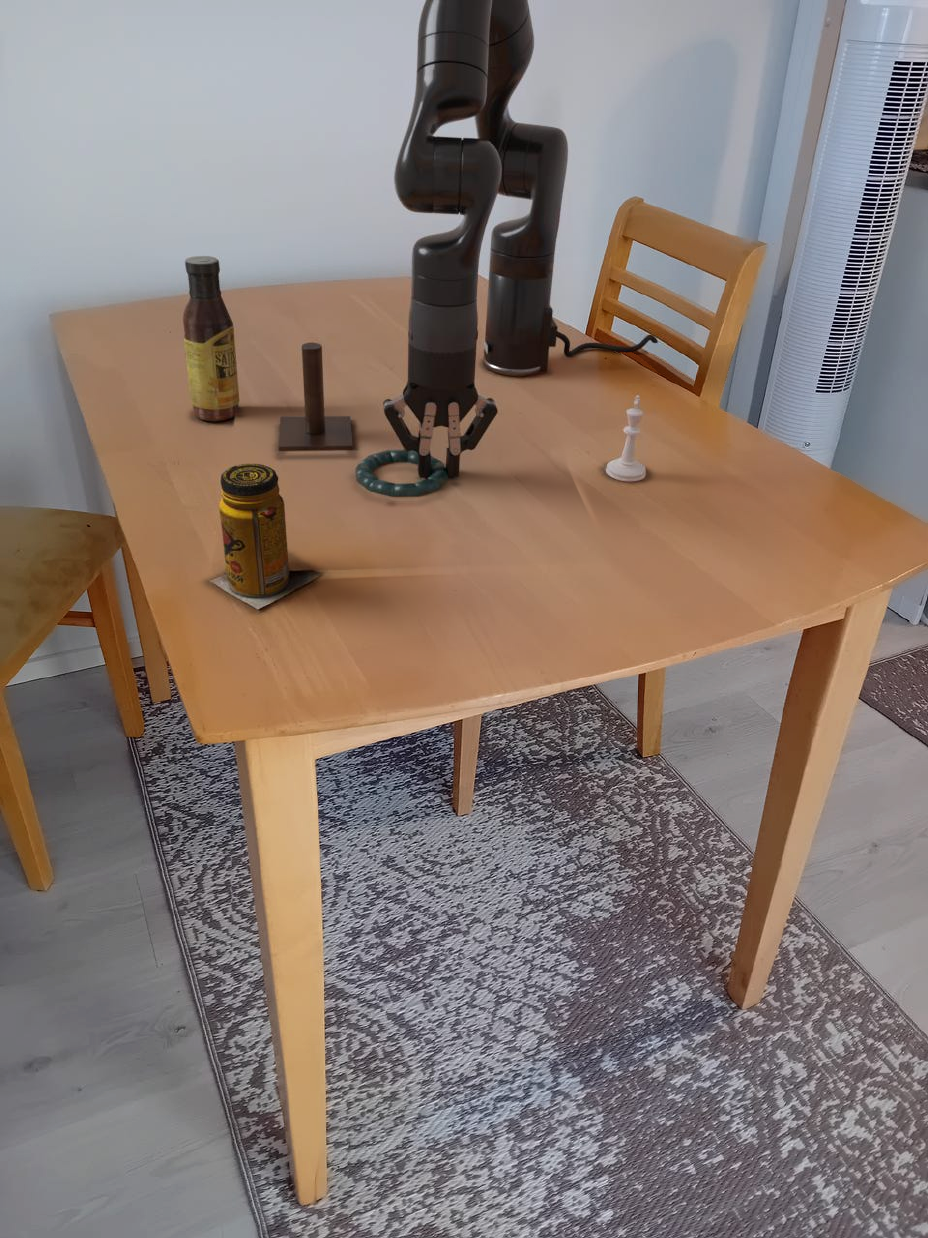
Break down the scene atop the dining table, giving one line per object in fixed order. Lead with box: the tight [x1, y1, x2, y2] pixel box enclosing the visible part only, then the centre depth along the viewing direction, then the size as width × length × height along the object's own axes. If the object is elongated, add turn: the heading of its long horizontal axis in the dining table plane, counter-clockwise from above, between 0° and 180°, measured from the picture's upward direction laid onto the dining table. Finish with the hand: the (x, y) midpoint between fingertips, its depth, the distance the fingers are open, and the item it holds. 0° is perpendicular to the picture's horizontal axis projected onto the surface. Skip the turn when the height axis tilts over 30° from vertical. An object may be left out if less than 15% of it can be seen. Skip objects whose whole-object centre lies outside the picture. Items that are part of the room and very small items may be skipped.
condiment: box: [209, 463, 323, 610], centre depth 94 cm, size 7×8×12 cm
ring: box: [355, 449, 449, 498], centre depth 116 cm, size 11×11×2 cm
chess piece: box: [605, 394, 647, 482], centre depth 118 cm, size 5×5×10 cm
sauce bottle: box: [182, 255, 240, 422], centre depth 124 cm, size 7×6×20 cm
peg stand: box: [278, 342, 354, 452], centre depth 121 cm, size 9×9×12 cm
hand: (437, 479), depth 117 cm, fingers closed on ring, 2 cm apart
